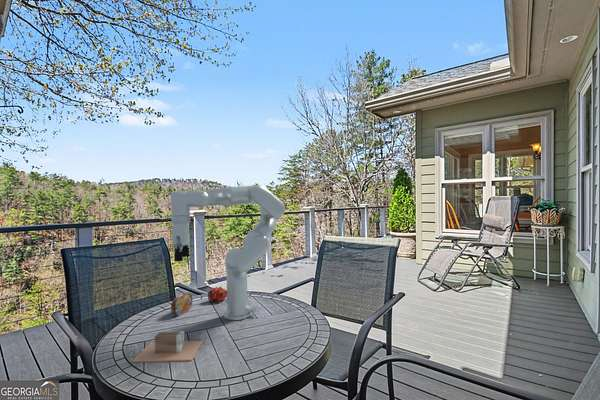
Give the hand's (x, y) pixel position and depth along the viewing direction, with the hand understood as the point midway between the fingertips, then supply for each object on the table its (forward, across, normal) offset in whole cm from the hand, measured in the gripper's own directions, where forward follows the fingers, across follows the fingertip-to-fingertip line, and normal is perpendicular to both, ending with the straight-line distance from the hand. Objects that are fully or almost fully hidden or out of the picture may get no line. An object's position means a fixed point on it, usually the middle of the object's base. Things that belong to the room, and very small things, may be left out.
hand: (182, 258), depth 138 cm
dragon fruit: (+30, -33, +8) cm, 45 cm away
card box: (+29, +23, +1) cm, 37 cm away
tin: (+30, -17, -6) cm, 35 cm away
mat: (+29, +23, +1) cm, 37 cm away
